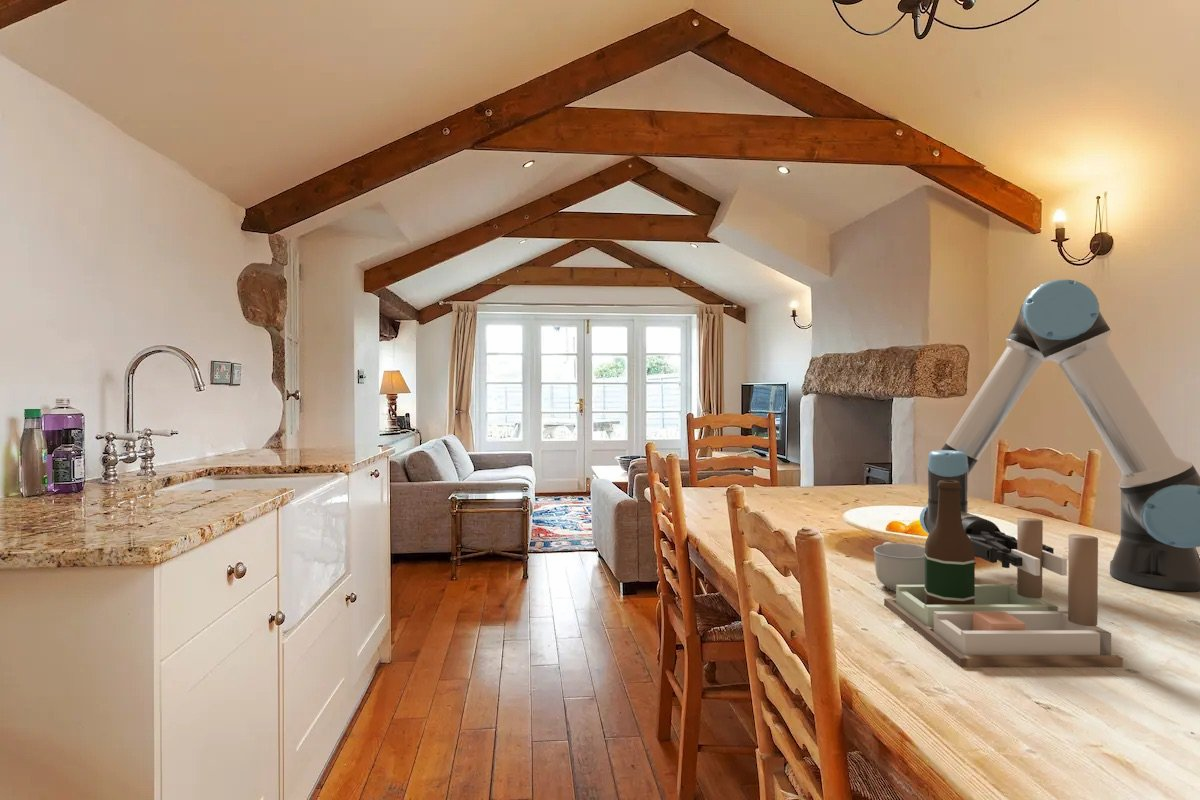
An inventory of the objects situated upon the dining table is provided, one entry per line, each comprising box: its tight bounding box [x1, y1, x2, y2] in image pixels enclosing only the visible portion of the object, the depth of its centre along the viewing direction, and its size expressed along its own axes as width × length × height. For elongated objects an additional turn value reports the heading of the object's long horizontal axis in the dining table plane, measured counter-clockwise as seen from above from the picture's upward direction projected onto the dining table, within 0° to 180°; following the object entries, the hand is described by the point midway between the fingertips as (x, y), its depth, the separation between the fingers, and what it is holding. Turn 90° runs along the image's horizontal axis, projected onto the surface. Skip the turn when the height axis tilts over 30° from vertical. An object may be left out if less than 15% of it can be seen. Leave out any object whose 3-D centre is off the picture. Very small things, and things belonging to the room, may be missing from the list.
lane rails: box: [883, 597, 1124, 668], centre depth 107 cm, size 23×26×1 cm
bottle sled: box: [895, 517, 1059, 627], centre depth 112 cm, size 22×12×17 cm, turn 89°
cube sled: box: [934, 533, 1112, 655], centre depth 100 cm, size 22×9×17 cm, turn 89°
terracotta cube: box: [973, 612, 1025, 631], centre depth 100 cm, size 5×5×5 cm
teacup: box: [873, 541, 925, 592], centre depth 131 cm, size 14×11×8 cm
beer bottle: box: [924, 480, 976, 605], centre depth 112 cm, size 8×8×24 cm
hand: (1050, 567), depth 107 cm, fingers closed on bottle sled, 4 cm apart
